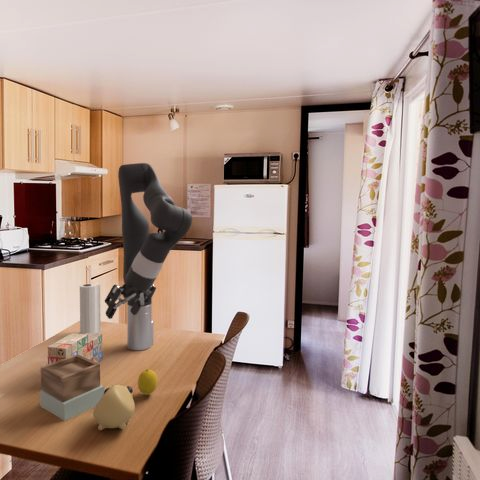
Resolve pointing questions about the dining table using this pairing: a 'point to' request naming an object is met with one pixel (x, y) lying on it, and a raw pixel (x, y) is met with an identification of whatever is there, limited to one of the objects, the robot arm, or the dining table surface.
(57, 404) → the tower base
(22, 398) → the dining table surface
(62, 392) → the wooden box
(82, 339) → the stack of blocks
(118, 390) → the cream pug plush toy
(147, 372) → the lemon
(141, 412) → the dining table surface
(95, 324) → the paper towel roll
